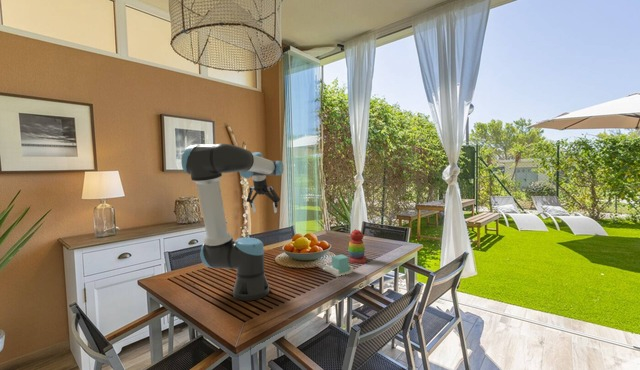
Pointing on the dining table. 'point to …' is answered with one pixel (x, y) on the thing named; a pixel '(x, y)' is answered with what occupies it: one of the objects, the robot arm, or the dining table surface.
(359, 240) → the stacking bear
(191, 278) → the dining table surface
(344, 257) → the block
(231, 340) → the dining table surface
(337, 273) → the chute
